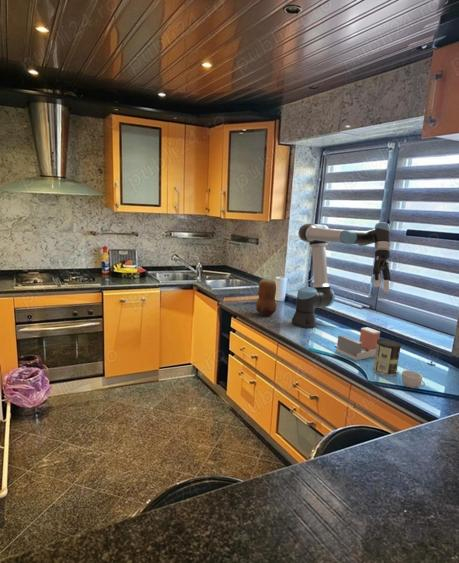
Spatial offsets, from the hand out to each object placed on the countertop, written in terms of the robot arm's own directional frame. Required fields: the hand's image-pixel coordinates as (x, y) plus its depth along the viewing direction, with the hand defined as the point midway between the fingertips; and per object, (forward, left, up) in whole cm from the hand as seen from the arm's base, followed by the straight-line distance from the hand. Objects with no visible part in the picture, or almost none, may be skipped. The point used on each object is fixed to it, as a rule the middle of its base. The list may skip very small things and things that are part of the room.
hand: (381, 289), depth 199 cm
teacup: (+28, -36, -33) cm, 57 cm away
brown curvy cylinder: (-76, +8, -33) cm, 83 cm away
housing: (-3, -12, -33) cm, 35 cm away
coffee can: (+14, -28, -33) cm, 46 cm away
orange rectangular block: (-1, -7, -31) cm, 32 cm away
